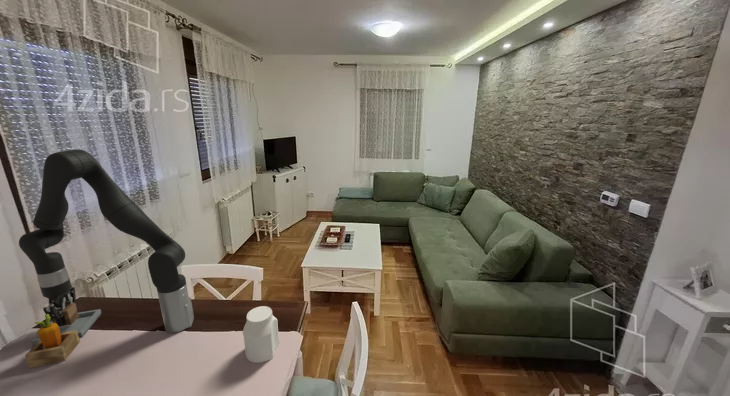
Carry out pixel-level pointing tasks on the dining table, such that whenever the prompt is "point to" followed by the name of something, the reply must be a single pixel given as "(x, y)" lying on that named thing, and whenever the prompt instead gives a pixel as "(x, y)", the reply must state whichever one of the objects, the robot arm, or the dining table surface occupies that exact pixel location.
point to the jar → (260, 335)
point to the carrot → (49, 333)
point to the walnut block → (69, 314)
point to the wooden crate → (53, 350)
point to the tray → (77, 324)
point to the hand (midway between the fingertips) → (66, 320)
